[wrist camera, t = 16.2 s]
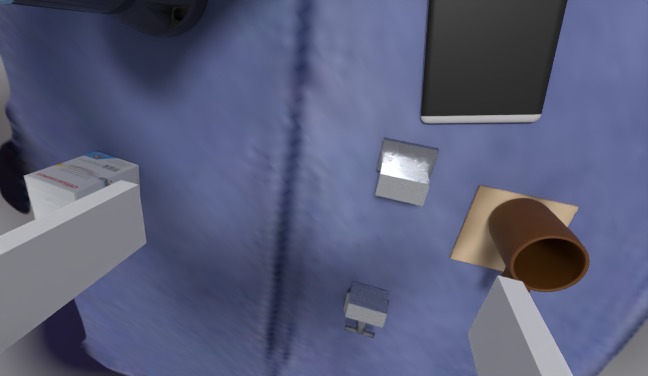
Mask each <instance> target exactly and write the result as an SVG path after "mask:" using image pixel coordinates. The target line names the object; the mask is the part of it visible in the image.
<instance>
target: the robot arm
mask: <svg viewBox="0 0 648 376" xmlns="http://www.w3.org/2000/svg"><path fill="white" fill-rule="evenodd" d="M0 3H1V4H18V5H27V6H36V7H45V8H54V9H64V10H73V11H82V12H91V13H101V14H107V15H109V16H111V17H113V18H114V19H116V20H118V21H120V22H122V23H124V24H126V25H128V26H129V27H131V28H133V29H135V30H137V31H140V32H142V33H146V34H149V35H156V36H175V35H179V34H181V33H184V32H186V31H187V30H189V29H190V28H191V27H192V26H193V25H194V24H195V23H196V22H197V21H198V20H199V18H200V17H201V15H202V13H203V11H204V9H205V7H206V4H207V0H0ZM145 244H146V235H145V228H144V221H143V214H142V206H141V199H140V192H139V185H138V184H135V183H131V182H127V181H123V180H120V181H118V182H116V183H114V184H111V185H109V186H107V187H105V188H103V189H101V190H98V191H96V192H94V193H92V194H90V195H88V196H85V197H83V198H81V199H79V200H77V201H75V202H72V203H70V204H68V205H66V206H64V207H62V208H59V209H57V210H55V211H53V212H51V213H49V214H46V215H44V216H42V217H40V218H38V219H36V220H34V221H31V222H29V223H27V224H25V225H23V226H21V227H18V228H16V229H14V230H12V231H9V232H7V233H5V234H3V235H1V236H0V353H1V352H3V351H4V350H6V349H7V348H8V347H9V346H11V345H12V344H14V343H15V342H16V341H17V340H19V339H20V338H22V337H23V336H24V335H25V334H27V333H28V332H29V331H31V330H32V329H33V328H35V327H36V326H37V325H39V324H40V323H41V322H42V321H44V320H45V319H47V318H48V317H49V316H51V315H52V314H53V313H55V312H56V311H57V310H58V309H60V308H61V307H63V306H64V305H65V304H67V303H68V302H69V301H70V300H72V299H73V298H74V297H76V296H77V295H78V294H80V293H81V292H82V291H84V290H85V289H86V288H88V287H89V286H90V285H92V284H93V283H94V282H96V281H97V280H98V279H100V278H101V277H102V276H104V275H105V274H106V273H108V272H109V271H110V270H111V269H113V268H114V267H115V266H117V265H118V264H119V263H121V262H122V261H123V260H125V259H126V258H127V257H129V256H130V255H131V254H133V253H134V252H135V251H137V250H138V249H139V248H141V247H142V246H143V245H145ZM468 338H469V342H470V346H471V350H472V354H473V358H474V362H475V367H476V371H477V375H478V376H573V375H572V373H571V371H570V369H569V367H568V365H567V363H566V361H565V360H564V358H563V356H562V354H561V352H560V350H559V348H558V347H557V345H556V343H555V341H554V339H553V337H552V335H551V333H550V332H549V330H548V328H547V326H546V324H545V322H544V320H543V319H542V317H541V315H540V313H539V311H538V309H537V307H536V306H535V304H534V302H533V300H532V298H531V296H530V294H529V292H528V291H527V289H526V287H525V285H524V283H523V282H522V281H518V280H514V279H510V278H506V277H502V276H498V275H497V277H496V279H495V281H494V283H493V285H492V287H491V289H490V291H489V293H488V295H487V297H486V299H485V301H484V303H483V305H482V306H481V308H480V310H479V312H478V314H477V316H476V318H475V320H474V322H473V324H472V326H471V328H470V330H469V332H468Z"/></svg>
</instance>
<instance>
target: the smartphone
mask: <svg viewBox="0 0 648 376" xmlns="http://www.w3.org/2000/svg"><path fill="white" fill-rule="evenodd" d="M566 4H567V0H428V10H427V25H426V39H425V54H424V69H423V83H422V98H421V112H420V117H421V120H422V121H423V122H424V123H507V122H534V121H536V120H538V119H539V118H540V116H541V114H542V109H543V105H544V100H545V96H546V92H547V87H548V83H549V79H550V74H551V70H552V65H553V61H554V57H555V52H556V48H557V44H558V39H559V35H560V31H561V26H562V22H563V17H564V13H565V9H566Z"/></svg>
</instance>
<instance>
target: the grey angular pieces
mask: <svg viewBox="0 0 648 376" xmlns="http://www.w3.org/2000/svg"><path fill="white" fill-rule="evenodd" d="M438 151H439V150H438V148H433V147H428V146H423V145H418V144H413V143H408V142H403V141H398V140H393V139H388V138H384V141H383V145H382V149H381V154H380V158H379V162H378V166H377V171H380V173H379V177H378V182H377V188H376V194H375V195H377V196H381V197H385V198H390V199H394V200H398V201H403V202H407V203H411V204H416V205H420V206H423V204H424V201H425V198H426V195H427V192H428V189H429V186H430V182H429V179H430V176H431V173H432V169H433V166H434V163H435V160H436V157H437V154H438ZM388 303H389V300H388V291H386V290H383V289H379V288H375V287H372V286H368V285H364V284H361V283H357V282H353V283H352V287H351V289H348V291H347V296H346V300H345V304H344V308H343V311H344V312H346V315H345V317H347V318H351V319H354V320H358V321H357V325H356V327H352V326H349V325H346V326H345V330H348V331H351V332H355V333H358V334H361V335H365V336H368V337H372V338H374V336H375V333H373V332H369V331H366V330H365V329H366V325H367V323H368V324H372V325H375V326H378V327H382V328H383V325H384V322H385V319H386V316H387V307H388Z"/></svg>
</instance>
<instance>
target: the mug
mask: <svg viewBox="0 0 648 376" xmlns="http://www.w3.org/2000/svg"><path fill="white" fill-rule="evenodd" d="M488 227H489V232H490V235H491V237H492V239H493V241H494V243H495V245H496V248H497V250H498V252H499V254H500V256H501V258H502V260H503V262H504V264H505V266H506V267H505V269H504V271H503V273H502V275H501V276H502V277H506V278H510V279H514V280H518V281H522V282H523V283H524V285H525V287H526V289H527V291H528V292H530V289H531V290H534V291H539V292H553V291H559V290H563V289H566V288H568V287H570V286H572V285H574V284H576V283H577V282H578V281H580V280H581V279H582V278H583V277H584V275H585V274H586V272H587V270H588V267H589V255H588V252H587V250H586V249H585V248H584V246H583V245H582V244H581V242H580V241H579V240H578V238H577V237H576V236H575V235H574V234H573V233H572V232H571V231H570V229H569V228H568V227H567V226H566V225H565V224H564V223H563V222H562V221H561V220H560V219H559V218H558V217H557V216H556V215H555V214H554V213H553V212H552V211H551V210H550V209H549V208H548V207H547V206H545V205H544V204H543V203H541V202H539V201H536V200H534V199H529V198H517V199H512V200H509V201H507V202H504V203H503V204H501V205H500V206H498V207H497V208H496V209H495V210H494V211H493V213H492V214H491V216H490V218H489V223H488Z"/></svg>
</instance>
